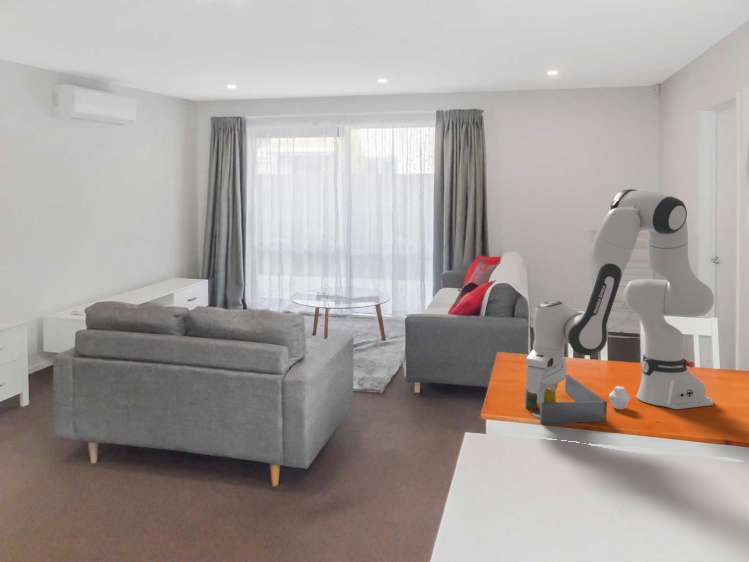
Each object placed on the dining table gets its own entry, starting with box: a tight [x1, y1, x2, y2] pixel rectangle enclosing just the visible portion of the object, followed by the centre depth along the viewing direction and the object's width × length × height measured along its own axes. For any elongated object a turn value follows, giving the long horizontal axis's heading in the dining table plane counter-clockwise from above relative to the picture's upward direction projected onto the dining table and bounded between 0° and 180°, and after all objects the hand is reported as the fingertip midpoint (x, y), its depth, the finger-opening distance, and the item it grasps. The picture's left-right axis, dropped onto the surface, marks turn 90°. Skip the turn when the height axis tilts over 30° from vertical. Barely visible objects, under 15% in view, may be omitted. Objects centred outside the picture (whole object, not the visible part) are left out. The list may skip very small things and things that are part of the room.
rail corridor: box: [524, 374, 608, 425], centre depth 190 cm, size 20×28×6 cm
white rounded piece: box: [608, 385, 631, 410], centre depth 189 cm, size 6×6×7 cm
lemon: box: [537, 388, 557, 410], centre depth 182 cm, size 6×6×8 cm
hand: (546, 400), depth 182 cm, fingers open, 6 cm apart
